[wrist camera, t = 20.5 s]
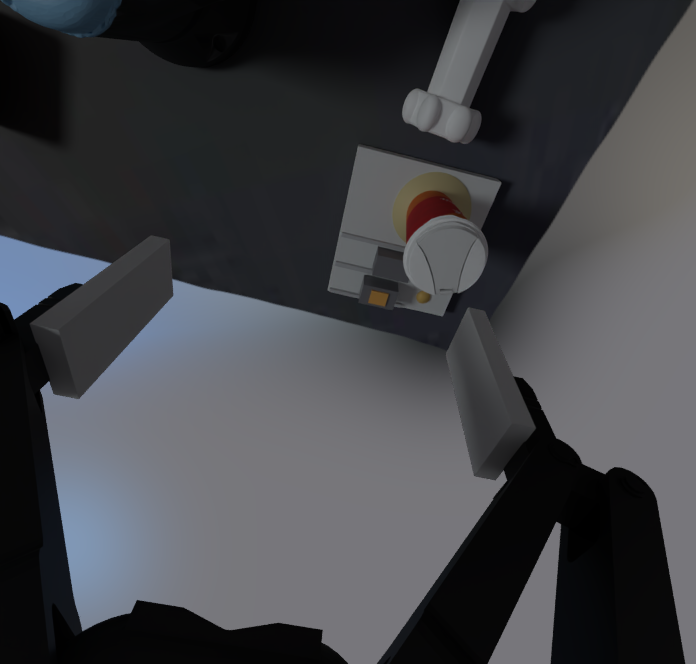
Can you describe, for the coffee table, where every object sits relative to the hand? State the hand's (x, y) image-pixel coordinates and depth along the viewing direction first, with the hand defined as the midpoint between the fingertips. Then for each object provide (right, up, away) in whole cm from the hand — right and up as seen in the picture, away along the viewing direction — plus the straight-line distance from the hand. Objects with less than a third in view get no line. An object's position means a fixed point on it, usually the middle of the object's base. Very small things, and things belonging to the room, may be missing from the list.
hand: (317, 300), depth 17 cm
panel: (+9, +12, +36) cm, 39 cm away
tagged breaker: (+6, +5, +38) cm, 39 cm away
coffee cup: (+12, +14, +32) cm, 37 cm away
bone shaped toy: (+13, +29, +24) cm, 40 cm away
